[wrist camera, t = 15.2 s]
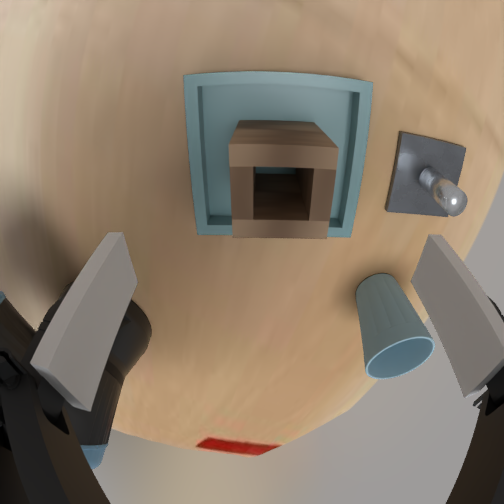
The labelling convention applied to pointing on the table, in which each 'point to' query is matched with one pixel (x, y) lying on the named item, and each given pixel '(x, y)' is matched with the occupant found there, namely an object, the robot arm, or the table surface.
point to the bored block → (281, 179)
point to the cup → (390, 329)
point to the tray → (272, 108)
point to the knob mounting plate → (426, 177)
